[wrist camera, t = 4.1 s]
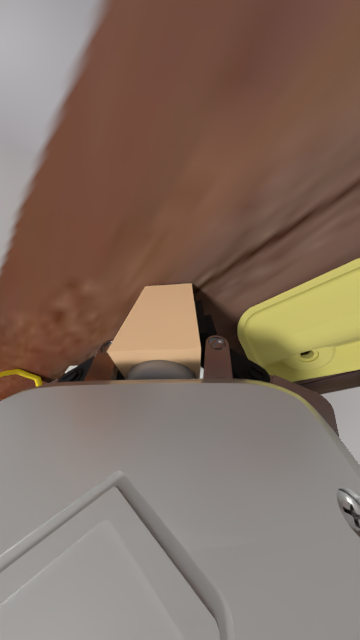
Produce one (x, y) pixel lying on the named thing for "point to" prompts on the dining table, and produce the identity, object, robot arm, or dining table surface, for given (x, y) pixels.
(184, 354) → the block
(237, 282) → the dining table surface
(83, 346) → the dining table surface
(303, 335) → the plastic component
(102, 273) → the dining table surface
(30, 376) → the watch
